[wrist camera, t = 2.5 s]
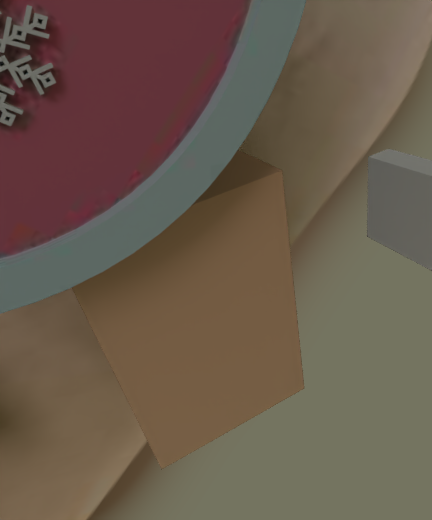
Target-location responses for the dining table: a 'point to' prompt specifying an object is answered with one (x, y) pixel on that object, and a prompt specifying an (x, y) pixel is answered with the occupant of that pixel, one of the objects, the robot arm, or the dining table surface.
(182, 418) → the plug
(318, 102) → the dining table surface
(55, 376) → the dining table surface
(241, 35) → the mug
